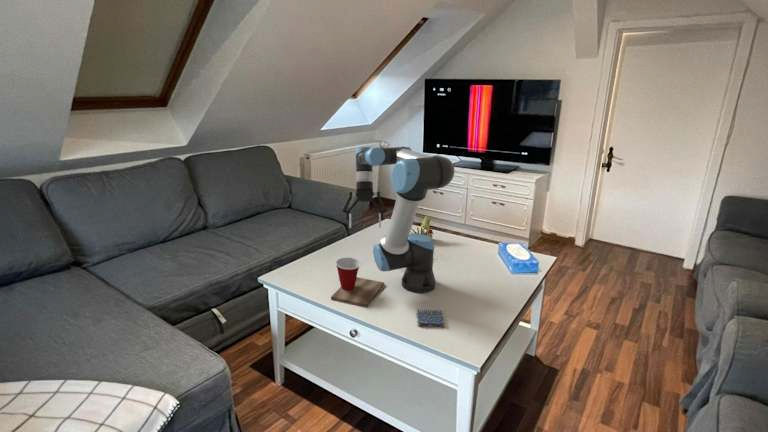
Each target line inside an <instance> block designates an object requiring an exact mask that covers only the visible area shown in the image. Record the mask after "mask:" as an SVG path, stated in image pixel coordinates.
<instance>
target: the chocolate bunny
mask: <svg viewBox="0 0 768 432" xmlns="http://www.w3.org/2000/svg"><path fill="white" fill-rule="evenodd" d="M430 223H431V218H430V217H429V216H428V215H427V216H426V215H425V217H424V219H423V222H422V223H421V225H420V227H419V229H420V228H424V229H426V230H427V232H428V236H429V237H431V238H432V239H433V235H434V232H433V229H431V227H430Z"/></svg>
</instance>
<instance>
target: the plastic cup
mask: <svg viewBox="0 0 768 432" xmlns="http://www.w3.org/2000/svg"><path fill="white" fill-rule="evenodd" d="M361 264H362V262H361V260H359V259H358V258H355V257H354V258H353V257H347V256H346V257H340V258H338V259H336V260H335V265H336V268H337V273H338V279H339V283H340V287H341V288H342V289H343V290H352V289H354V287H355V282H356V278H357V276H358V273H359V269H360V267H361Z"/></svg>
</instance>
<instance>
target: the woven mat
mask: <svg viewBox="0 0 768 432" xmlns="http://www.w3.org/2000/svg"><path fill="white" fill-rule="evenodd" d="M416 318H417V322H416V323H417V327H420V328H423V327H424V328H429V327H430V328H446V325H445V318H444V314H443V311H442V310H439V309H437V310H435V309H433V310H431V309H428V310H427V309H417V311H416Z"/></svg>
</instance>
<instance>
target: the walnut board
mask: <svg viewBox="0 0 768 432" xmlns="http://www.w3.org/2000/svg"><path fill="white" fill-rule="evenodd" d="M384 286H385V282H384V281H377V280H375V279H373V280H372V279H367V278H364V277H363V278H362V277H357V278H356V282H355V287H354V289H352V290H343V289H342V288H341V286H340V287H339V288H338V289H337V290H336V291H334V293H333V294H332V295H331V296H330V300H333V301H336V302H342V303H346V304H350V305H355V306H359V307H364V308H367V307H368V306H369V305H370V303H372V301H373V300H374V299H375V297H376V296H377V295H378V294H379V292H380V291H381V290H382V288H383V287H384Z"/></svg>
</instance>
